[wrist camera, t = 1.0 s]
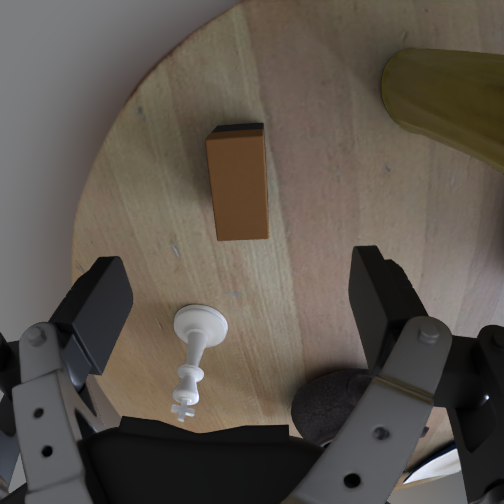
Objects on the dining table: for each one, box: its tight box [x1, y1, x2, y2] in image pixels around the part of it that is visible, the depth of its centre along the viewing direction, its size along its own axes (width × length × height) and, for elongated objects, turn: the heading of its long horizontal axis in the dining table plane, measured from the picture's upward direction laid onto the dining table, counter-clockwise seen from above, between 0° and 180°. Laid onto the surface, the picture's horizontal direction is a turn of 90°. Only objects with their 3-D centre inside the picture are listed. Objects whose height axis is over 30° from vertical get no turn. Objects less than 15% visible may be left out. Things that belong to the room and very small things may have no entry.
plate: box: [403, 444, 461, 484], centre depth 49 cm, size 20×20×3 cm
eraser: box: [205, 123, 269, 241], centre depth 19 cm, size 6×3×4 cm, turn 4°
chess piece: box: [171, 305, 228, 422], centre depth 24 cm, size 5×5×10 cm
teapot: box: [291, 369, 429, 449], centre depth 28 cm, size 19×15×10 cm
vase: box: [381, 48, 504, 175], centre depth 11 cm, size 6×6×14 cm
